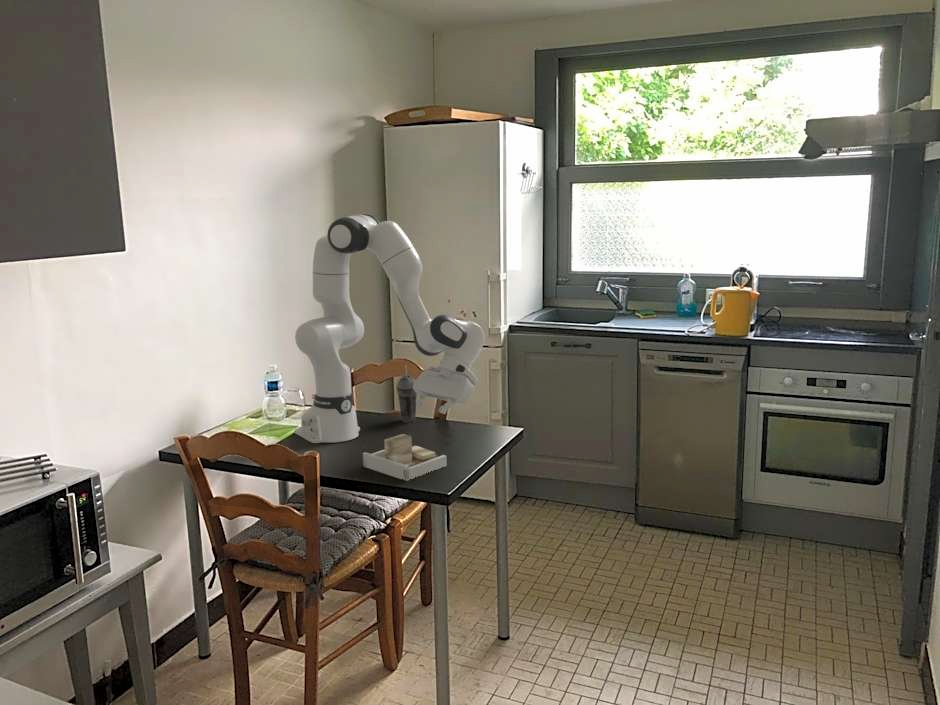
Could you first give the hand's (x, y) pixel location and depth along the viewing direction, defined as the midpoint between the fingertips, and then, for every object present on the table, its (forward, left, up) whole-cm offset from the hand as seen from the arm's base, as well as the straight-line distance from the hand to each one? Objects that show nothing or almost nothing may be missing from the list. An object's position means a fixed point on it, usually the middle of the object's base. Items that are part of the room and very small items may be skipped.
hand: (429, 409), depth 227 cm
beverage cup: (-33, +22, -14) cm, 42 cm away
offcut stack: (0, -6, -14) cm, 15 cm away
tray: (0, -11, -14) cm, 18 cm away
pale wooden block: (0, -13, -14) cm, 19 cm away
